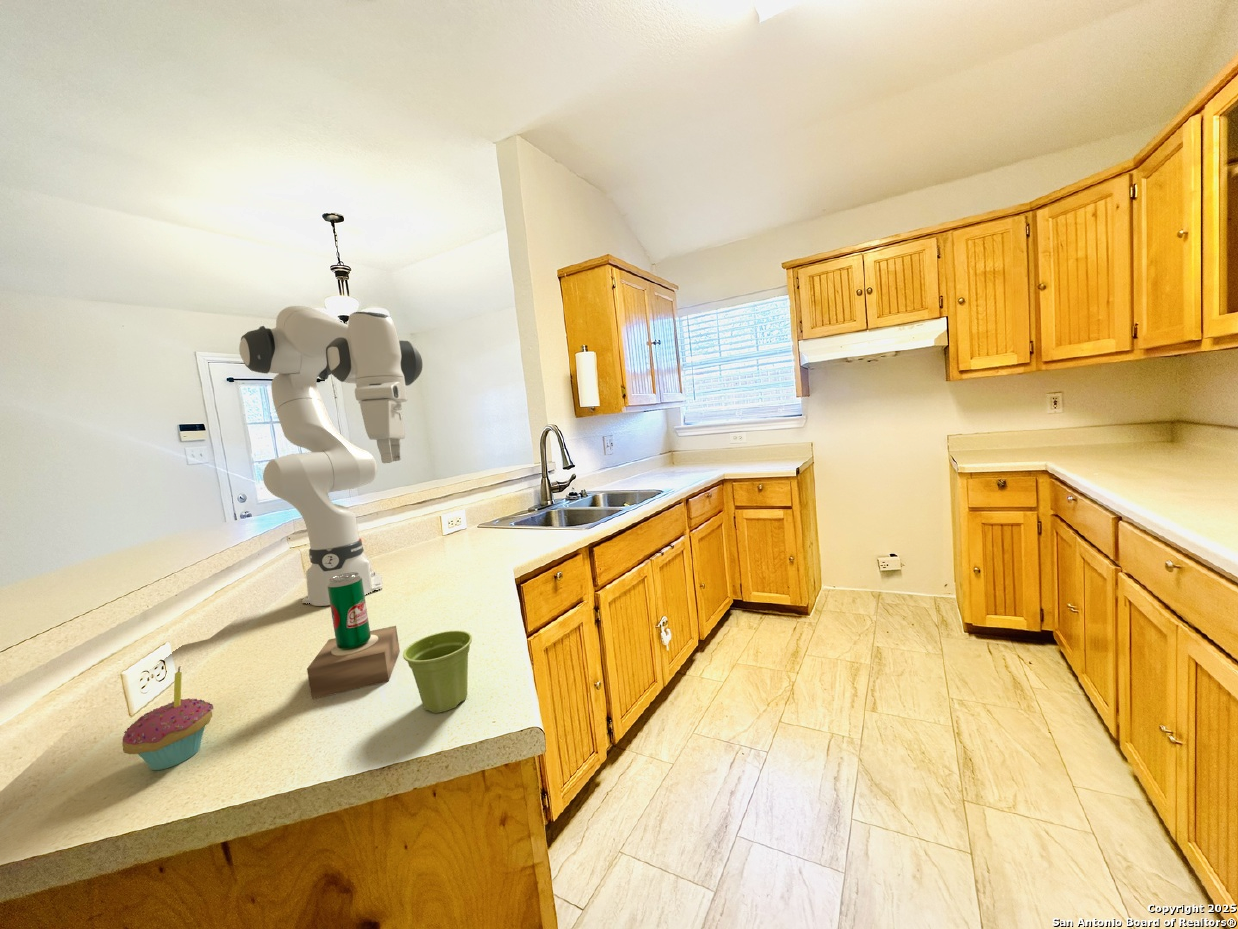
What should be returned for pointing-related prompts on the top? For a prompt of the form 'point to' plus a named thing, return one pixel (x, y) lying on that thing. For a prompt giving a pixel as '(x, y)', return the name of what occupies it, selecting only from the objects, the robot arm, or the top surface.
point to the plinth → (354, 664)
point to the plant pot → (440, 668)
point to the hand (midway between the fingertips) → (392, 461)
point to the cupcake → (169, 731)
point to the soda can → (349, 611)
